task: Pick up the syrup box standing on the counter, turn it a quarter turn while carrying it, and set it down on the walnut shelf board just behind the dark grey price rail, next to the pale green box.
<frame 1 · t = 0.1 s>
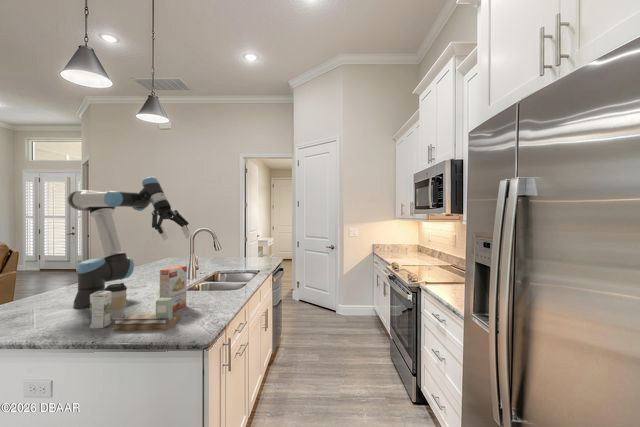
hand: (177, 237, 162), 36 cm above the countertop, tool tilted 35°, fingers open, 13 cm apart
shelf board: (148, 324, 141), on the countertop
cracker box: (173, 309, 163), on the countertop
pale green box: (164, 320, 140), point 2 cm above the countertop, touching shelf board
syrup box: (100, 326, 138), on the countertop
coffee cup: (115, 317, 151), on the countertop
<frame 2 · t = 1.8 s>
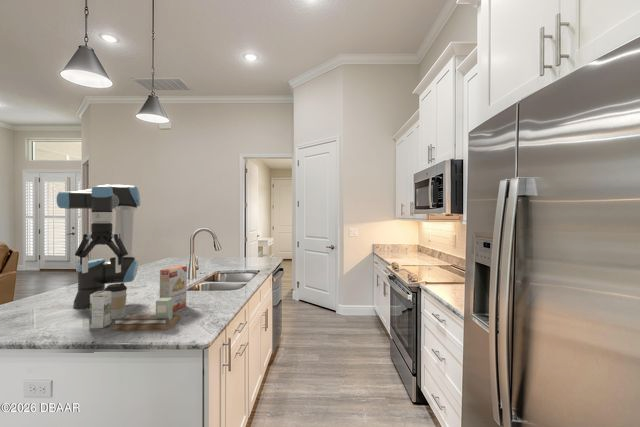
hand: (101, 272, 138), 23 cm above the countertop, tool pointing down, fingers open, 13 cm apart
nothing on the countertop moved.
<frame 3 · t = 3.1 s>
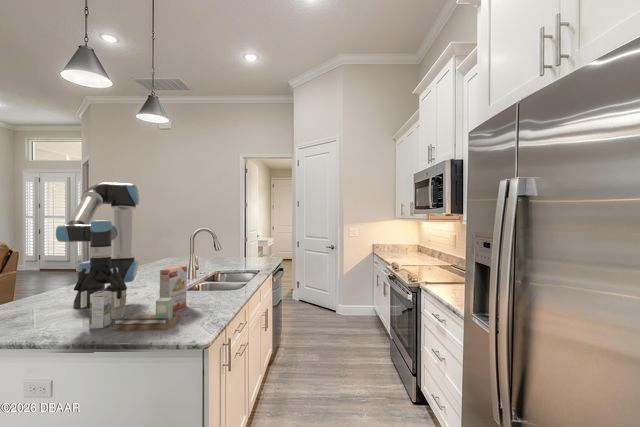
hand: (100, 306, 138), 8 cm above the countertop, tool pointing down, fingers open, 13 cm apart
nothing on the countertop moved.
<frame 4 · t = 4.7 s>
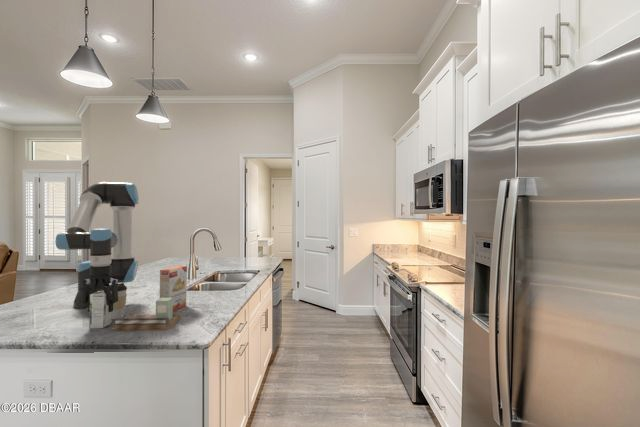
hand: (100, 319, 138), 3 cm above the countertop, tool pointing down, fingers closed on syrup box, 6 cm apart
syrup box: (100, 326, 138), on the countertop, touching gripper
everything else where it was.
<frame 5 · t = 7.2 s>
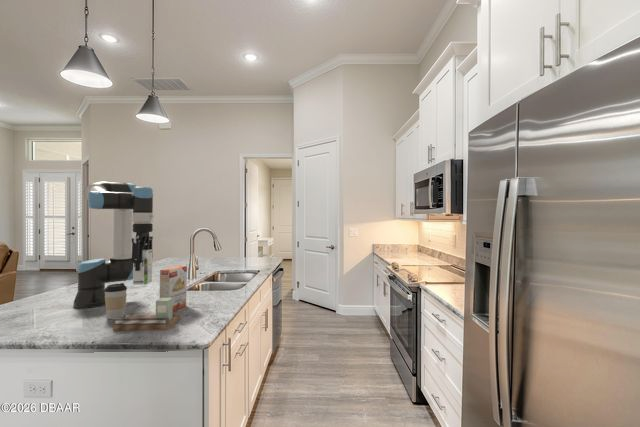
hand: (142, 276, 140), 21 cm above the countertop, tool pointing down, fingers closed on syrup box, 6 cm apart
syrup box: (142, 283, 140), point 18 cm above the countertop, touching gripper
everything else where it was.
when the fingers open (6 cm above the countertop, at t = 9.7 s): syrup box drops 1 cm, resting on shelf board.
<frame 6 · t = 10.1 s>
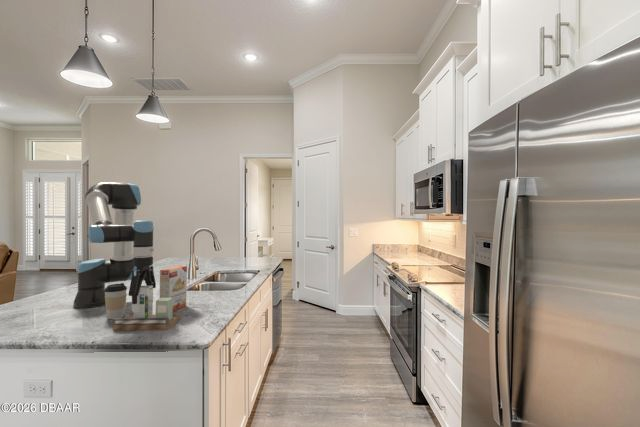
hand: (142, 307, 140), 8 cm above the countertop, tool pointing down, fingers open, 11 cm apart
syrup box: (143, 320, 140), point 2 cm above the countertop, touching shelf board
everything else where it was.
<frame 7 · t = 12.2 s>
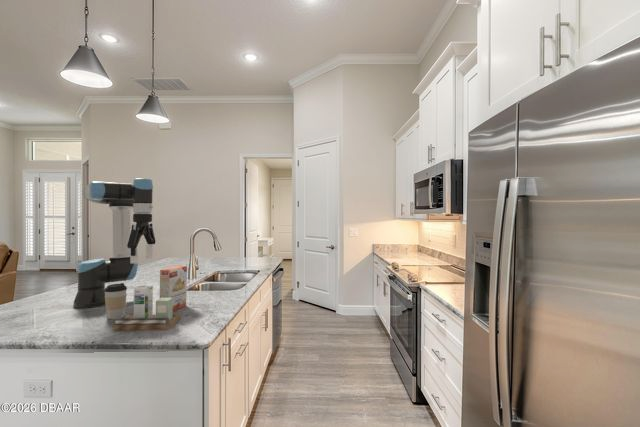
hand: (142, 260, 145), 27 cm above the countertop, tool pointing down, fingers open, 13 cm apart
nothing on the countertop moved.
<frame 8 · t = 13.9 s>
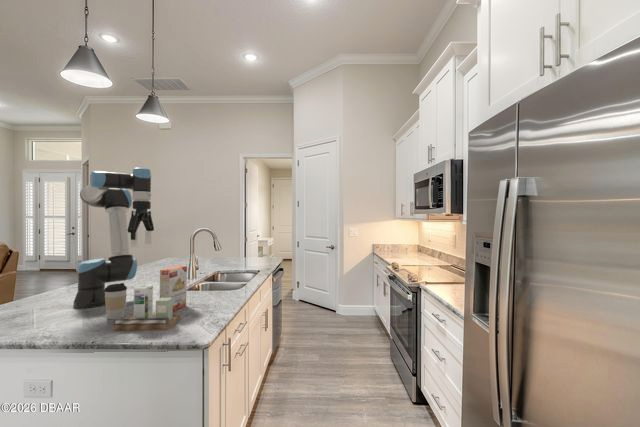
hand: (141, 245, 154), 33 cm above the countertop, tool pointing down, fingers open, 13 cm apart
nothing on the countertop moved.
at the end: syrup box inside the target area (0.3 cm from its centre), point 1.8 cm above the countertop; syrup box tilted 0°; the gripper is holding nothing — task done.
